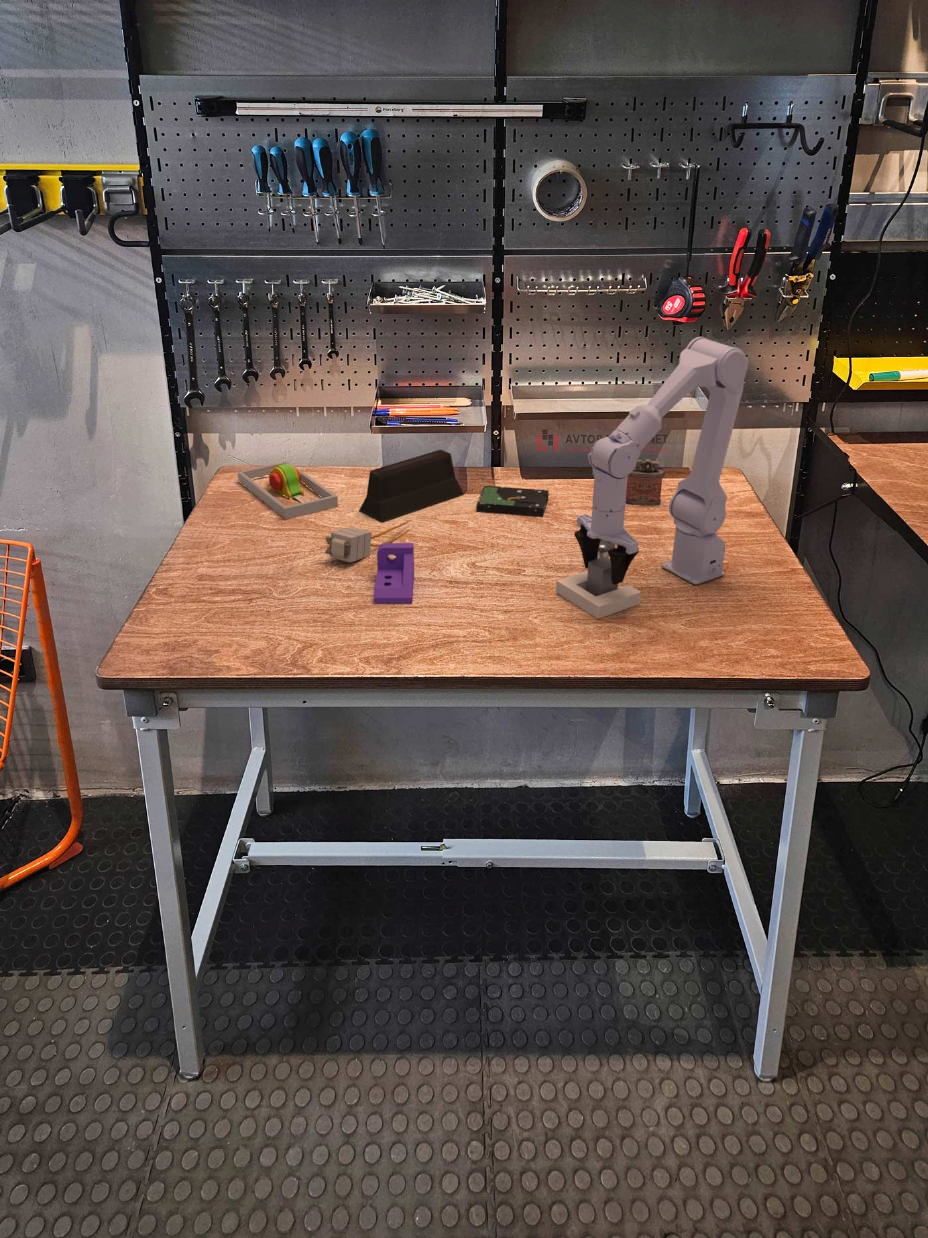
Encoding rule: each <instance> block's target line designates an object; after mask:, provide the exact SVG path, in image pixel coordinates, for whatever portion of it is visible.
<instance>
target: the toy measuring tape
mask: <svg viewBox="0 0 928 1238" xmlns="http://www.w3.org/2000/svg"><path fill="white" fill-rule="evenodd" d="M292 465H293V464H292ZM292 465H290V464H282V465H278V466H276V467H275V468H273V470H270V474H269V477H268V481H269V486H270V487H271V489H272V490H273V491H276V492H277V491H278V492H277V494H279V493H281V494H282V495H285V496H287V497H288V498H294V499H296V500H297V501H298V502H300V503H304V501H302V499H300V496H301V495H304V490H303V488H302V486H301V485H302V483H301V476H300V473H299V471H298V470H297V469H295V468H294V467H293V466H292ZM281 494H280V495H281ZM282 495H281V496H282ZM288 498H287V499H288ZM302 498H304V499H305V500H307V501H311V500H310V499H308V498H306V497H305V495H304V496H302Z"/></svg>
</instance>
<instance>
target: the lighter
mask: <svg viewBox="0 0 928 1238" xmlns="http://www.w3.org/2000/svg"><path fill="white" fill-rule="evenodd" d="M659 467H660V461H656V460H655V461H654V460H651V459H650V458H646V459H645V460H642V459H637V463H636V466H635V468H634V470H633V471H632V472H631V473H629V474H628V478H627V490H626V502H625V505H626V504H627V505H632V506H644V507H645V506H647V507H648V506H651V507H652V506H659V505H661V503H662V499H661V496H662V495H661V494H662V484H663V478H664V477H663V476H664V474H665V471H664V470H663V469H659Z"/></svg>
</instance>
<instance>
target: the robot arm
mask: <svg viewBox="0 0 928 1238" xmlns="http://www.w3.org/2000/svg"><path fill="white" fill-rule="evenodd" d="M749 363H750V361H749V359H748V357H747V356H746V354H745V353H744V351H743V349H741V348H739V347H736V346H730V345H727V344H724V343H720V342H718V341H713V340H711V339H708V338H707V337H704V336H698V337H695V338H693V339H692V340H691V341H689V343H688V344H687V346H686V348H684V349H683V350H682V351H681V352H680V354H679V360H678V365H677V366H676V368H675V369H674V370H673V371H672V372H671V374H670V375H669V376H668V377H667V379H666V380H665V381H664V383H663V384H662V385H661V387H659V389H658V390H657V392H656V393H655V394H654V395H653V397H652V398H651V399H650V400H649V402H648V403H647V404H645V405H644V404H643V405H642V404H641V405H637V406H636V407H634V408H632V409H631V410H630V412H629V413H628V415H627V416H626V417H625V419H624V420H622V422H620V423H619V425H618V426H617V427H616V428H615V429H614V430H613V431H612V432H611V433H610V434H609V435H608V436H605V437H604V438H603V437H602V438H600V439H598V440H597V441H596V442H594V444H593V446H592V448H591V451H590V452H589V453H588V454H587V456H588V457H587V458H588V462H589V465H591V467H592V476H593V493H592V506H591V507H592V510H591V515H588V514H586V513H584V514H580V515H577V517H576V527H578V528H579V530H575V531H574V537H575V539H576V541H577V544H578V546H579V549H580V552H581V556H582V560H583V564H584V568H585V569H586V570H588V562H590V561H593V560H596V559H597V557H598V549H599V544H600V541H601V539H602V540H606V541H609V542H612V543H614V544H615V546H616V547H615V548H614V549H611V550H608V554H609V559H610V561H611V580H612V584H614V585H616V584H618V585H619V584H622V583H624V579H625V577H626V574H627V571H628V569H629V567H630V565H631V564H632V561H633V560H634V559H635V558H636V556H637V555H638V554H639V552H640V551H639V549H640V547H639V541H638V540H636V539H635V538H634V537H632V535H631V534H630V533H629V532H628V531H627V530H626V528H625V527H624V525H625V512H626V503H625V502H626V490H627V478H628V474H629V473H631V472H632V471H633V470H634V468H636V467H635V466H636V463H637V460H639V457H640V456H641V453H642V452H641V451H642V450H643V449H644V448H645V447H646V446H647V445H648V444H649V442H650V441H651V440H652V439H653V438H654V437H655V436H656V435H657V433H659V431H660V430H661V429H662V420H663V419H662V418H663V417H665V416H666V414H667V413H669V412H670V411H671V410H672V409H673V408H674V407H675V406H676V405H678V403H680V401H681V400H683V398H685V397H686V396H687V395H688V394H689V393H690V392H691V391H693V389H695V388H705V389H707V390H708V392H709V397H708V401H707V405H706V408H705V409H706V410H705V414H704V417H703V421H702V426H701V430H700V433H699V437H698V442H697V445H696V449H695V454H694V458H693V461H692V465H691V468H690V472H689V473H690V474H689V476H687V477H685V478H683V479H681V480H679V481H678V483H677V487H676V490H675V492H674V493H673V495H672V497H671V499H670V500H669V504H668V505H669V506H668V511H669V514H670V516H671V517H672V518H673V524H674V525H675V530H674V540H673V549H672V557H671V561H667V562H664V563H661V568H663V569H665V570H667V571H668V572H671V573H672V574H674V575H676V576H678V577H680V578H682V579H684V580H685V581H687V582H689V583H691V584H693V585H695V586H696V585H699V584H702V583H705V582H708V581H711V580H714V579H716V578H719V577H722V576H724V575H725V571H723V568H724V567H723V565H724V560H725V552H726V543H725V540H723V539H722V538H721V537H719V535H718V534H717V532H718V531H719V529H720V528H722V526H723V524H724V523H725V519H726V515H727V511H726V510H727V509H726V503H727V501H728V500H727V499H728V495H727V493H726V492H725V490H724V489H723V486H722V485H721V483H720V478H721V475H722V471H723V467H724V464H725V460H726V456H727V452H728V448H729V444H730V441H731V437H732V434H733V429H734V425H735V422H736V418H737V414H738V410H739V407H740V403H741V399H742V395H743V391H744V382H745V378H746V374H747V371H748V367H749Z"/></svg>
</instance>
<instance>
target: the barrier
mask: <svg viewBox="0 0 928 1238" xmlns="http://www.w3.org/2000/svg"><path fill="white" fill-rule="evenodd" d="M464 495H465V493H464V491H463V489H462V488H461V486H460V484H459V482H458V480H457V478H456V474H455V469H454V463H453V459H452V454H451V453H450V452H448V451H445V450H443V449H437V450H435V451H432V452H428V453H425V454H422V455H418V456H415V457H411V458H407V459H405V460H404V459H403V460H402V461H398V462H393V463H392V464H389V465H388V464H387V465H384V466H382V467H377V468H374V469H372V470H370V471H369V475H368V483H367V491H366V496H365V498H364V501H363V502H362V505H361V506H360V508H359V510H358V512H359V513H361V514H363V515H365V516H367V517H369V518H371V519H372V520H375V521H377V522H379V523H381V524H383V523H386V522H389V521H390V522H391V521H392V520H395V519H398V518H401V517H404V516H407V515H410V514H414V513H416V512H418V511H421V510H424V509H427V508H431V507H433V506H436V505H439V504H442V503H445V502H447V501H450V500H453V499H458V498H459V497H463V496H464Z"/></svg>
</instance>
